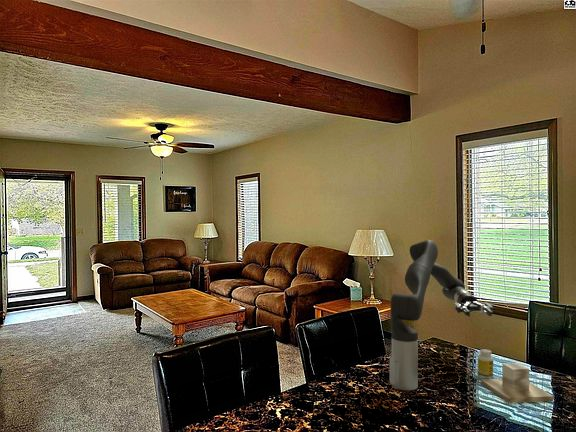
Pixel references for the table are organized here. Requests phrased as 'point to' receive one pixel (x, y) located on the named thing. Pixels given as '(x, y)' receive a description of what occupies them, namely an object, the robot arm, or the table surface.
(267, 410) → the table surface
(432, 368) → the table surface
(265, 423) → the table surface
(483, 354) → the supplement bottle
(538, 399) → the pedestal
